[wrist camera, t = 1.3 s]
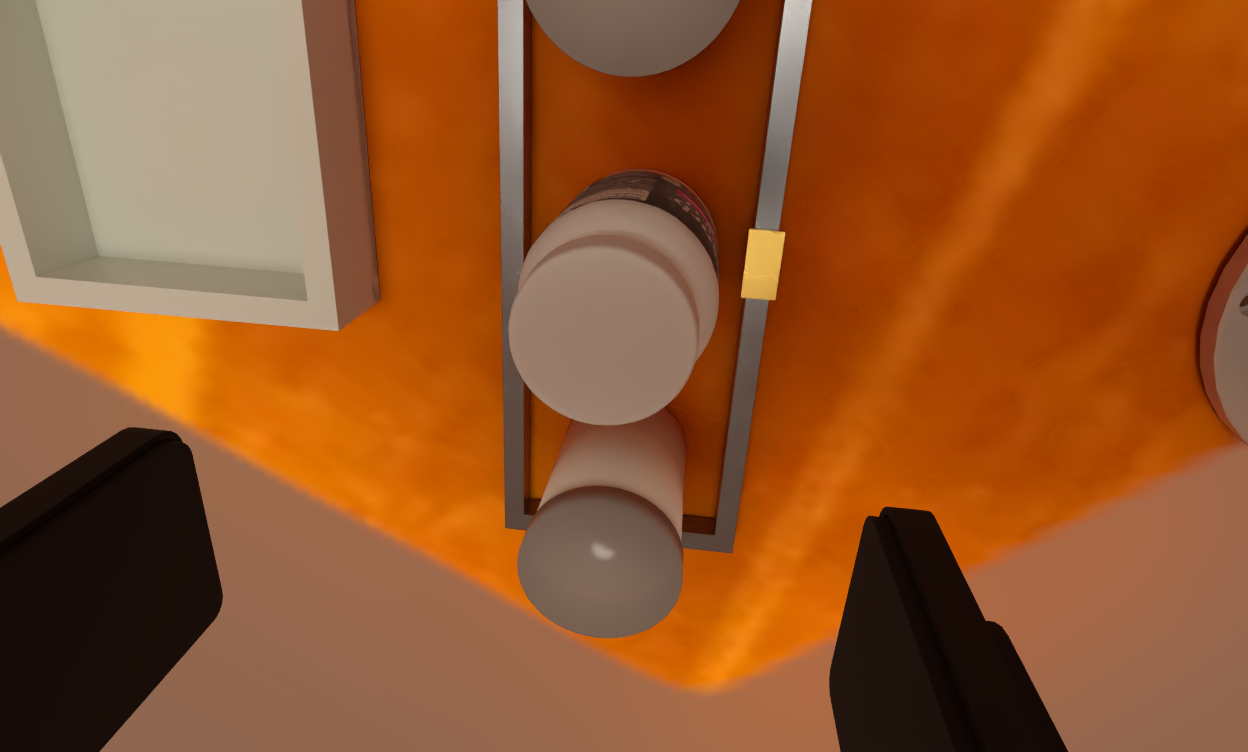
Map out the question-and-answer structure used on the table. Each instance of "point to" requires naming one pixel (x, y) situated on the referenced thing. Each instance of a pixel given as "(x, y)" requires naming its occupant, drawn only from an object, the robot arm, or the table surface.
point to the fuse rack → (756, 276)
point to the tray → (187, 159)
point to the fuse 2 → (609, 529)
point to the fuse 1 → (632, 31)
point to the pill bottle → (617, 299)
